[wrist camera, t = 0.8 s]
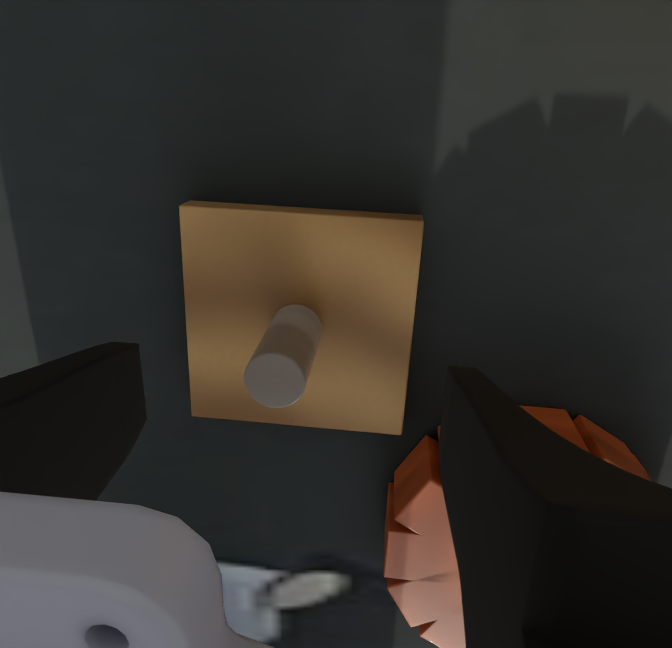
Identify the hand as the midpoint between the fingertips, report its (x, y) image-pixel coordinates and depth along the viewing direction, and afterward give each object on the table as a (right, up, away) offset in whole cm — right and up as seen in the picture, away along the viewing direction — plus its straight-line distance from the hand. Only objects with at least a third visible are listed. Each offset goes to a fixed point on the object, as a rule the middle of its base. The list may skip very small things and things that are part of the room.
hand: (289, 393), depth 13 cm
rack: (0, +2, +10) cm, 10 cm away
